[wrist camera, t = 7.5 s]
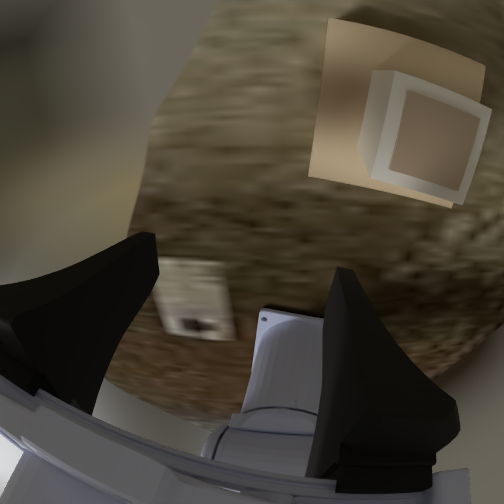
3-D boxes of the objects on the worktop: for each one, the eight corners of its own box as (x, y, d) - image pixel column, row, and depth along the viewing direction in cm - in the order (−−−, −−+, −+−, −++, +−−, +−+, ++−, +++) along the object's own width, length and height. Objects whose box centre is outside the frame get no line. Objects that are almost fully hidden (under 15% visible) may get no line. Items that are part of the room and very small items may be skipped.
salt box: (429, 168, 15) (464, 207, 11) (356, 147, 16) (371, 180, 11) (448, 95, 13) (495, 110, 8) (372, 70, 13) (396, 70, 9)
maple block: (436, 189, 18) (451, 208, 16) (310, 161, 20) (308, 176, 17) (464, 64, 13) (485, 65, 11) (327, 25, 14) (328, 17, 12)
